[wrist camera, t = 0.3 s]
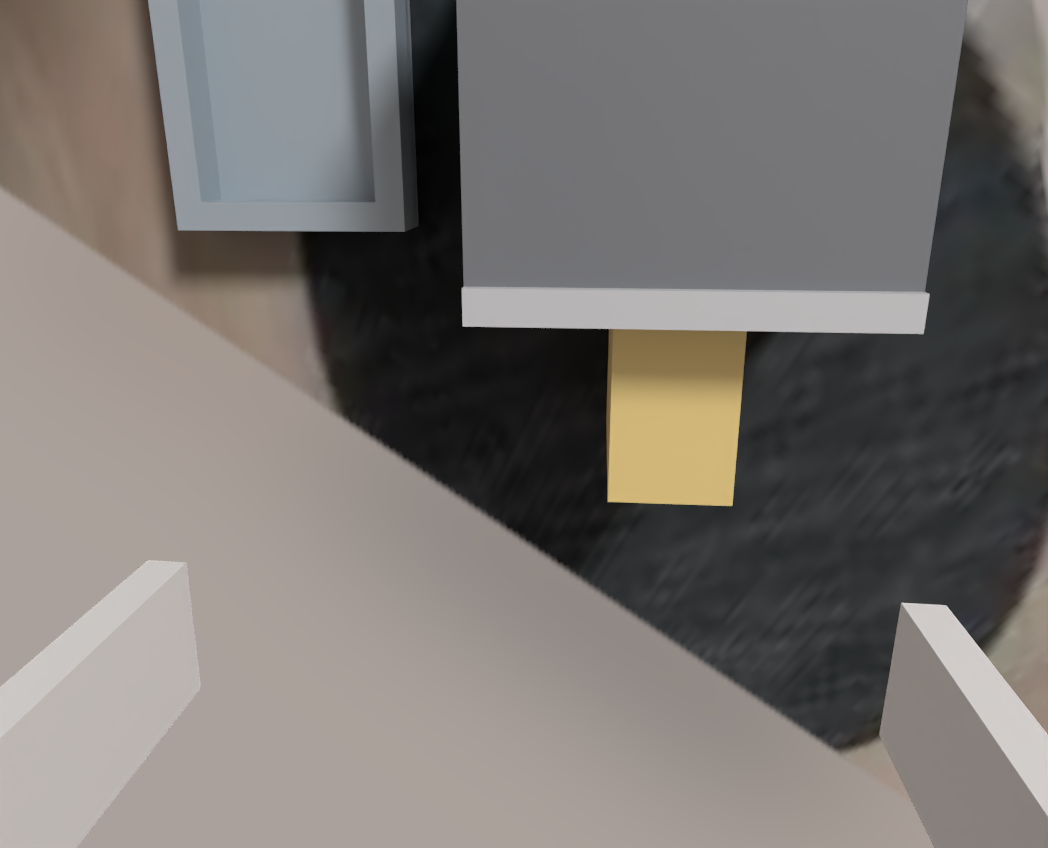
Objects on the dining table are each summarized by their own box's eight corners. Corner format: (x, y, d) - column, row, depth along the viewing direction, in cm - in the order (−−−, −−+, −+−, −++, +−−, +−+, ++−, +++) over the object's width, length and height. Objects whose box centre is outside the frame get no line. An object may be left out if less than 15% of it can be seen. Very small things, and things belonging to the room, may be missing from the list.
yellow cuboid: (614, 156, 36) (618, 158, 27) (719, 156, 36) (760, 158, 26) (606, 418, 40) (607, 501, 31) (701, 420, 40) (732, 506, 30)
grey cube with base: (503, -77, 34) (448, -200, 22) (859, -86, 33) (1007, -222, 21) (506, 271, 38) (462, 326, 26) (820, 274, 37) (923, 333, 25)
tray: (151, -240, 33) (112, -274, 30) (399, -251, 32) (380, -287, 30) (207, 224, 39) (178, 230, 36) (418, 225, 38) (404, 231, 35)
